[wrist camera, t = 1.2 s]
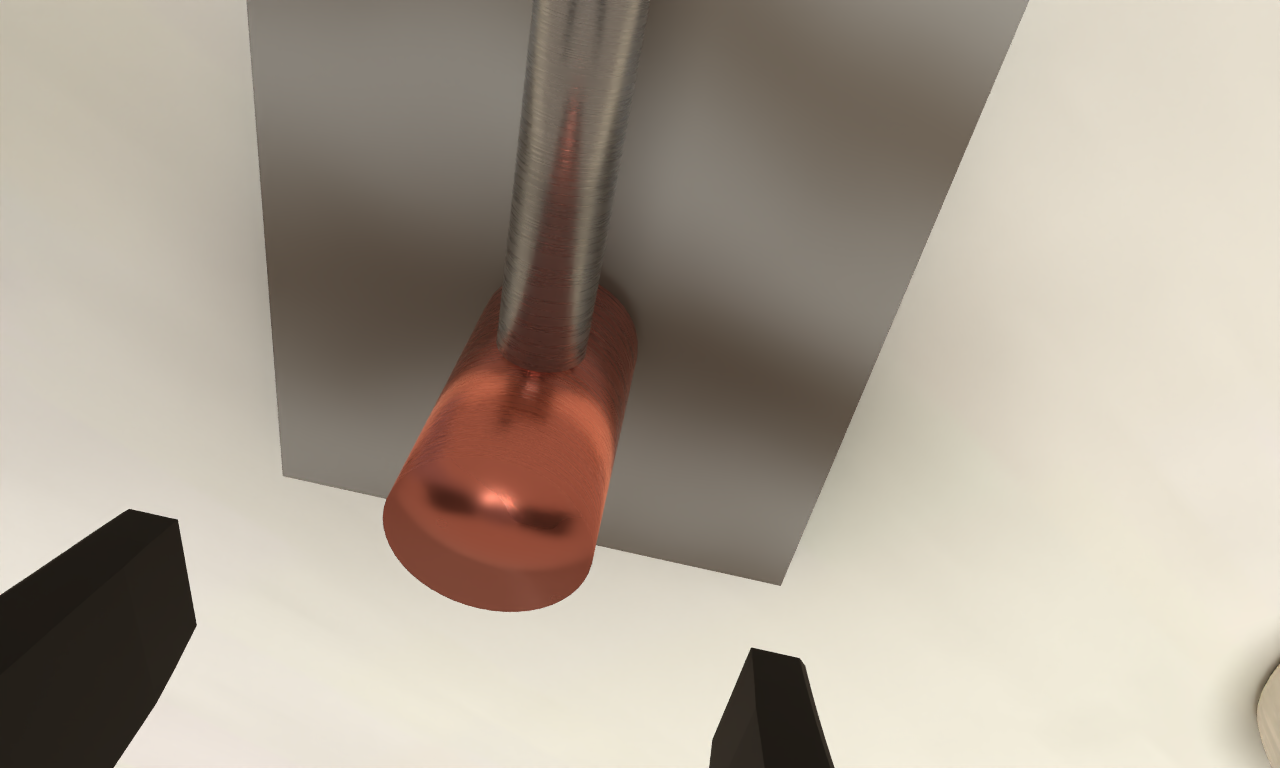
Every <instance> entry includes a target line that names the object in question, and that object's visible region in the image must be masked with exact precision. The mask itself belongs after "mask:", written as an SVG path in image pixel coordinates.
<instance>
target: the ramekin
mask: <svg viewBox="0 0 1280 768" xmlns="http://www.w3.org/2000/svg"><path fill="white" fill-rule="evenodd" d="M1257 723H1258V728H1259V731H1260V737H1261V740H1262V744H1263V747H1264V749H1265V752H1266V754H1267V757H1268V759H1269V762H1270V765H1271V767H1272V768H1280V664H1279V665H1278V667H1277V668H1276V669H1275V671H1274V672H1273V673H1272V675H1271V676H1270V678H1269V680H1268V681H1267V683H1266V685H1265V687H1264V689H1263V690H1262V694H1261V697H1260V700H1259V703H1258V707H1257Z"/></svg>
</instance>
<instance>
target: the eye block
mask: <svg viewBox="0 0 1280 768" xmlns="http://www.w3.org/2000/svg"><path fill="white" fill-rule="evenodd" d="M1028 2H1029V0H650V4H649V9H648V15H647V20H646V26H645V31H644V37H643V42H642V48H641V53H640V59H639V64H638V70H637V75H636V81H635V86H634V92H633V97H632V102H631V108H630V113H629V119H628V124H627V130H626V135H625V141H624V146H623V152H622V157H621V163H620V168H619V174H618V179H617V185H616V190H615V196H614V201H613V207H612V212H611V218H610V223H609V229H608V234H607V240H606V245H605V251H604V256H603V262H602V267H601V273H600V278H599V285H601V286H602V287H604V288H605V289H606V290H608V291H609V292H610V293H611V294H612V295H614V296H615V297H616V298H617V299H618V300H619V302H620V303H621V304H622V305H623V306H624V308H625V309H626V311H627V312H628V314H629V315H630V317H631V319H632V321H633V324H634V327H635V330H636V333H637V339H638V354H637V360H636V364H635V369H634V374H633V378H632V383H631V387H630V392H629V396H628V401H627V405H626V410H625V415H624V419H623V424H622V428H621V433H620V437H619V442H618V446H617V451H616V456H615V460H614V465H613V469H612V474H611V478H610V483H609V487H608V492H607V497H606V501H605V506H604V510H603V515H602V519H601V524H600V528H599V533H598V538H597V542H596V545H598V546H603V547H607V548H612V549H616V550H621V551H625V552H630V553H634V554H639V555H644V556H648V557H653V558H657V559H662V560H666V561H671V562H675V563H680V564H684V565H689V566H693V567H698V568H702V569H707V570H712V571H716V572H721V573H725V574H730V575H734V576H739V577H743V578H748V579H752V580H757V581H761V582H766V583H770V584H775V585H779V586H781V584H782V581H783V579H784V577H785V574H786V572H787V570H788V567H789V565H790V562H791V560H792V558H793V555H794V553H795V551H796V548H797V546H798V544H799V541H800V539H801V537H802V534H803V532H804V529H805V527H806V525H807V522H808V520H809V518H810V515H811V513H812V511H813V508H814V506H815V504H816V501H817V499H818V496H819V494H820V492H821V489H822V487H823V485H824V482H825V480H826V478H827V475H828V473H829V471H830V468H831V466H832V464H833V461H834V459H835V456H836V454H837V452H838V449H839V447H840V445H841V442H842V440H843V438H844V435H845V433H846V431H847V428H848V426H849V423H850V421H851V419H852V416H853V414H854V412H855V409H856V407H857V405H858V402H859V400H860V398H861V395H862V393H863V390H864V388H865V386H866V383H867V381H868V379H869V376H870V374H871V372H872V369H873V367H874V365H875V362H876V360H877V357H878V355H879V353H880V350H881V348H882V346H883V343H884V341H885V339H886V336H887V334H888V332H889V329H890V327H891V325H892V322H893V320H894V317H895V315H896V313H897V310H898V308H899V306H900V303H901V301H902V299H903V296H904V294H905V292H906V289H907V287H908V284H909V282H910V280H911V277H912V275H913V273H914V270H915V268H916V266H917V263H918V261H919V259H920V256H921V254H922V251H923V249H924V247H925V244H926V242H927V240H928V237H929V235H930V233H931V230H932V228H933V226H934V223H935V221H936V218H937V216H938V214H939V211H940V209H941V207H942V204H943V202H944V200H945V197H946V195H947V193H948V190H949V188H950V186H951V183H952V181H953V178H954V176H955V174H956V171H957V169H958V167H959V164H960V162H961V160H962V157H963V155H964V153H965V150H966V148H967V145H968V143H969V141H970V138H971V136H972V134H973V131H974V129H975V127H976V124H977V122H978V120H979V117H980V115H981V112H982V110H983V108H984V105H985V103H986V101H987V98H988V96H989V94H990V91H991V89H992V87H993V84H994V82H995V79H996V77H997V75H998V72H999V70H1000V68H1001V65H1002V63H1003V61H1004V58H1005V56H1006V54H1007V51H1008V49H1009V47H1010V44H1011V42H1012V39H1013V37H1014V35H1015V32H1016V30H1017V28H1018V25H1019V23H1020V21H1021V18H1022V16H1023V14H1024V11H1025V9H1026V6H1027V4H1028ZM532 5H533V0H247V12H248V25H249V38H250V51H251V64H252V77H253V90H254V103H255V116H256V130H257V143H258V156H259V169H260V182H261V195H262V208H263V221H264V234H265V248H266V261H267V274H268V287H269V300H270V313H271V326H272V339H273V352H274V366H275V379H276V392H277V405H278V418H279V431H280V444H281V457H282V470H283V476H286V477H290V478H295V479H299V480H304V481H308V482H313V483H317V484H322V485H326V486H331V487H335V488H340V489H344V490H349V491H354V492H358V493H363V494H367V495H372V496H376V497H381V498H385V499H387V497H388V495H389V493H390V491H391V489H392V487H393V485H394V483H395V481H396V479H397V478H398V476H399V474H400V472H401V470H402V468H403V466H404V464H405V462H406V460H407V458H408V456H409V454H410V452H411V450H412V448H413V446H414V445H415V443H416V441H417V439H418V437H419V435H420V433H421V431H422V429H423V427H424V425H425V423H426V421H427V419H428V417H429V415H430V414H431V412H432V410H433V408H434V406H435V404H436V402H437V400H438V398H439V396H440V394H441V392H442V390H443V388H444V386H445V384H446V382H447V381H448V379H449V377H450V375H451V373H452V371H453V369H454V367H455V365H456V363H457V361H458V359H459V357H460V355H461V353H462V351H463V350H464V348H465V346H466V344H467V342H468V340H469V338H470V336H471V334H472V332H473V330H474V328H475V326H476V324H477V322H478V320H479V319H480V317H481V315H482V313H483V311H484V309H485V307H486V305H487V303H488V301H489V299H490V298H491V297H492V296H493V294H494V293H495V292H496V291H497V290H498V289H499V288H500V287H501V286H502V285H503V276H504V267H505V257H506V248H507V239H508V229H509V220H510V211H511V201H512V192H513V183H514V173H515V164H516V155H517V145H518V136H519V126H520V117H521V108H522V98H523V89H524V80H525V70H526V61H527V52H528V42H529V33H530V24H531V14H532Z"/></svg>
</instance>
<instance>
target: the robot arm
mask: <svg viewBox="0 0 1280 768" xmlns="http://www.w3.org/2000/svg"><path fill="white" fill-rule="evenodd" d="M196 626H197V624H196V619H195V613H194V608H193V602H192V596H191V591H190V585H189V580H188V574H187V569H186V563H185V557H184V552H183V546H182V541H181V535H180V529H179V524H178V520H177V519H172V518H168V517H163V516H159V515H154V514H150V513H145V512H141V511H136V510H132V509H128V510H127V511H125V512H123V513H122V514H120V515H119V516H117V517H116V518H114V519H113V520H111V521H109V522H108V523H106V524H105V525H103V526H102V527H100V528H99V529H97V530H96V531H94V532H93V533H92V534H90V535H89V536H87V537H86V538H84V539H83V540H81V541H80V542H78V543H77V544H75V545H74V546H72V547H71V548H69V549H68V550H66V551H65V552H64V553H62V554H61V555H59V556H58V557H56V558H55V559H53V560H52V561H50V562H49V563H47V564H46V565H44V566H43V567H41V568H40V569H38V570H37V571H35V572H34V573H33V574H31V575H30V576H28V577H27V578H25V579H24V580H22V581H21V582H19V583H18V584H16V585H15V586H13V587H12V588H10V589H9V590H7V591H6V592H4V593H3V594H1V595H0V768H114V766H115V765H116V763H117V762H118V760H119V759H120V757H121V756H122V754H123V753H124V751H125V750H126V748H127V747H128V745H129V744H130V742H131V741H132V739H133V738H134V736H135V735H136V733H137V732H138V730H139V729H140V727H141V726H142V724H143V723H144V721H145V720H146V718H147V717H148V715H149V714H150V712H151V711H152V709H153V708H154V706H155V705H156V703H157V701H158V699H159V697H160V696H161V694H162V692H163V690H164V688H165V686H166V684H167V682H168V681H169V679H170V677H171V675H172V673H173V671H174V669H175V668H176V666H177V664H178V662H179V660H180V658H181V656H182V654H183V652H184V650H185V648H186V646H187V644H188V642H189V640H190V638H191V636H192V634H193V632H194V630H195V628H196ZM709 768H834V765H833V762H832V759H831V756H830V752H829V749H828V746H827V743H826V740H825V736H824V733H823V730H822V726H821V723H820V720H819V716H818V713H817V709H816V706H815V702H814V698H813V695H812V691H811V687H810V683H809V679H808V675H807V671H806V667H805V665H804V664H803V662H802V661H801V660H800V658H796V657H792V656H787V655H783V654H778V653H774V652H769V651H765V650H760V649H756V648H751V649H750V652H749V654H748V656H747V659H746V661H745V663H744V666H743V668H742V671H741V673H740V675H739V678H738V680H737V683H736V685H735V687H734V690H733V692H732V694H731V697H730V699H729V702H728V704H727V706H726V709H725V711H724V713H723V716H722V718H721V721H720V723H719V725H718V728H717V730H716V732H715V735H714V737H713V740H712V748H711V757H710V765H709Z"/></svg>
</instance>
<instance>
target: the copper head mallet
mask: <svg viewBox="0 0 1280 768" xmlns="http://www.w3.org/2000/svg"><path fill="white" fill-rule="evenodd" d="M649 4H650V0H533V5H532V14H531V24H530V33H529V42H528V52H527V61H526V70H525V80H524V89H523V98H522V108H521V117H520V126H519V136H518V145H517V155H516V164H515V173H514V183H513V192H512V201H511V211H510V220H509V229H508V239H507V248H506V257H505V267H504V276H503V285H502V286H501V287H500V288H499V289H498V290H497V291H496V292H495V293H494V294H493V296H492V297H491V298H490V299H489V301H488V303H487V305H486V307H485V309H484V311H483V313H482V315H481V317H480V319H479V320H478V322H477V324H476V326H475V328H474V330H473V332H472V334H471V336H470V338H469V340H468V342H467V344H466V346H465V348H464V350H463V351H462V353H461V355H460V357H459V359H458V361H457V363H456V365H455V367H454V369H453V371H452V373H451V375H450V377H449V379H448V381H447V382H446V384H445V386H444V388H443V390H442V392H441V394H440V396H439V398H438V400H437V402H436V404H435V406H434V408H433V410H432V412H431V414H430V415H429V417H428V419H427V421H426V423H425V425H424V427H423V429H422V431H421V433H420V435H419V437H418V439H417V441H416V443H415V445H414V446H413V448H412V450H411V452H410V454H409V456H408V458H407V460H406V462H405V464H404V466H403V468H402V470H401V472H400V474H399V476H398V478H397V479H396V481H395V483H394V485H393V487H392V489H391V491H390V493H389V495H388V497H387V499H386V502H385V506H384V511H383V526H384V531H385V535H386V538H387V540H388V543H389V545H390V547H391V549H392V551H393V552H394V554H395V556H396V557H397V558H398V560H399V561H400V562H401V564H402V565H403V566H404V567H405V568H406V569H407V570H408V571H409V572H410V573H411V574H412V575H413V576H414V577H416V578H417V579H418V580H419V581H420V582H422V583H423V584H425V585H426V586H428V587H429V588H431V589H432V590H434V591H436V592H438V593H439V594H441V595H443V596H445V597H447V598H450V599H452V600H454V601H457V602H460V603H462V604H465V605H469V606H472V607H476V608H480V609H486V610H492V611H502V612H520V611H530V610H535V609H540V608H543V607H547V606H550V605H553V604H555V603H557V602H559V601H561V600H563V599H565V598H566V597H568V596H569V595H571V594H572V593H573V592H574V591H575V590H576V589H578V588H579V586H580V585H581V584H582V583H583V582H584V580H585V578H586V577H587V575H588V573H589V570H590V567H591V564H592V560H593V556H594V551H595V547H596V542H597V538H598V533H599V528H600V524H601V519H602V515H603V510H604V506H605V501H606V497H607V492H608V487H609V483H610V478H611V474H612V469H613V465H614V460H615V456H616V451H617V446H618V442H619V437H620V433H621V428H622V424H623V419H624V415H625V410H626V405H627V401H628V396H629V392H630V387H631V383H632V378H633V374H634V369H635V364H636V360H637V354H638V339H637V333H636V330H635V327H634V324H633V321H632V319H631V317H630V315H629V314H628V312H627V311H626V309H625V308H624V306H623V305H622V304H621V303H620V302H619V300H618V299H617V298H616V297H615V296H614V295H612V294H611V293H610V292H609V291H608V290H606V289H605V288H604V287H602V286H601V285H599V278H600V273H601V267H602V262H603V256H604V251H605V245H606V240H607V234H608V229H609V223H610V218H611V212H612V207H613V201H614V196H615V190H616V185H617V179H618V174H619V168H620V163H621V157H622V152H623V146H624V141H625V135H626V130H627V124H628V119H629V113H630V108H631V102H632V97H633V92H634V86H635V81H636V75H637V70H638V64H639V59H640V53H641V48H642V42H643V37H644V31H645V26H646V20H647V15H648V9H649Z"/></svg>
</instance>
